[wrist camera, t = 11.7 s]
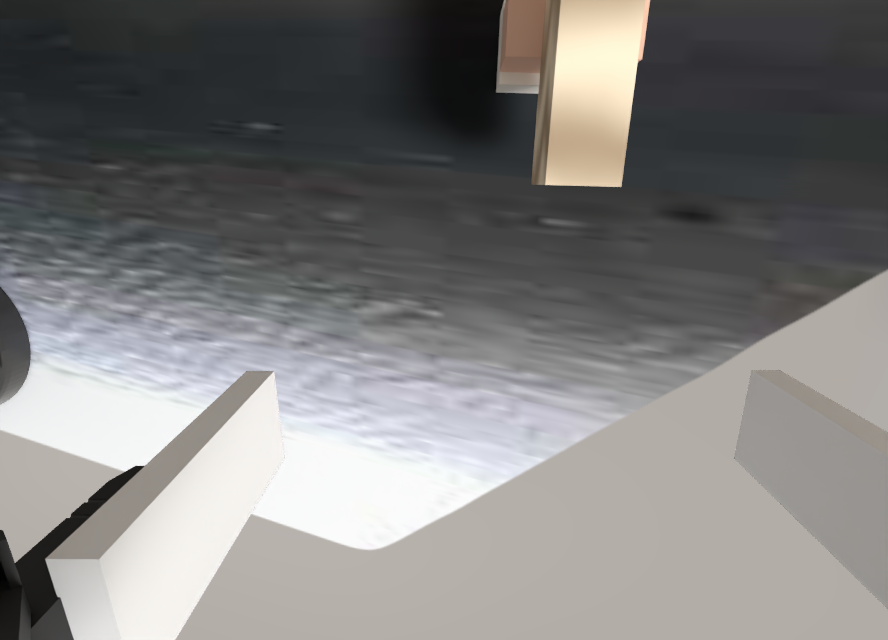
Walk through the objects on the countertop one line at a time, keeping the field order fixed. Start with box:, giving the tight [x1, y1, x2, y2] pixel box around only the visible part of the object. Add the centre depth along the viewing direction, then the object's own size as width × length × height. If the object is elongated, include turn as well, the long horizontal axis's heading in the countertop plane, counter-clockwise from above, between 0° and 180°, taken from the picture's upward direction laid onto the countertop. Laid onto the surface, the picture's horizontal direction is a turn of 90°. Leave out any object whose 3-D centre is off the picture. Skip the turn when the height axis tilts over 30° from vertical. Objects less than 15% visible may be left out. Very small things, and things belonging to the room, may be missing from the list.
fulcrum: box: [496, 0, 650, 94], centre depth 30 cm, size 8×5×7 cm, turn 88°
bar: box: [532, 0, 646, 187], centre depth 24 cm, size 18×4×5 cm, turn 179°
